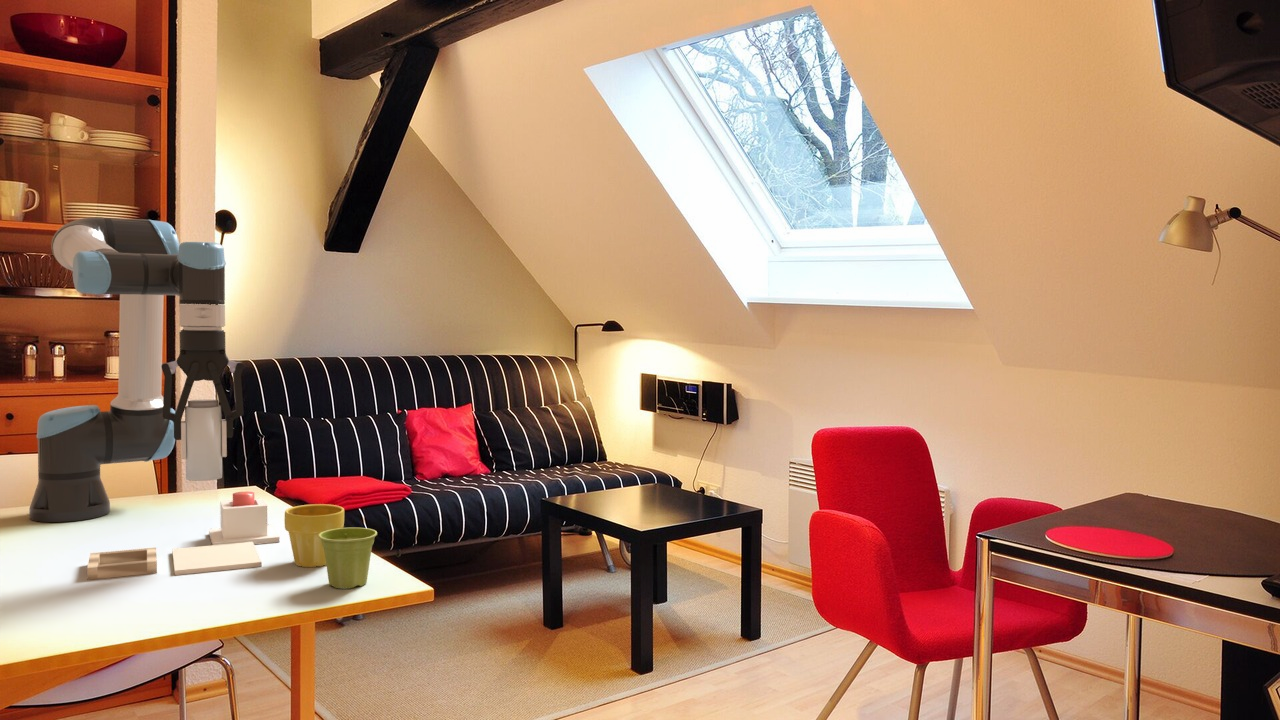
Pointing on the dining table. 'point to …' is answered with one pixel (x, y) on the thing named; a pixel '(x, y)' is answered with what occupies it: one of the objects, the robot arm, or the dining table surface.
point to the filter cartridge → (203, 440)
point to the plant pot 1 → (311, 531)
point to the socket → (122, 563)
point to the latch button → (243, 499)
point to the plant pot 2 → (347, 555)
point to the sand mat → (215, 558)
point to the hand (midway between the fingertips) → (204, 456)
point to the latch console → (244, 524)
